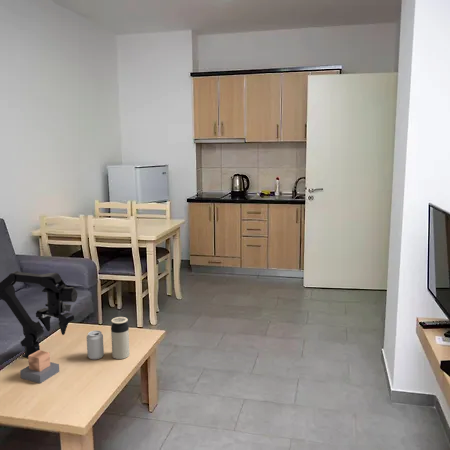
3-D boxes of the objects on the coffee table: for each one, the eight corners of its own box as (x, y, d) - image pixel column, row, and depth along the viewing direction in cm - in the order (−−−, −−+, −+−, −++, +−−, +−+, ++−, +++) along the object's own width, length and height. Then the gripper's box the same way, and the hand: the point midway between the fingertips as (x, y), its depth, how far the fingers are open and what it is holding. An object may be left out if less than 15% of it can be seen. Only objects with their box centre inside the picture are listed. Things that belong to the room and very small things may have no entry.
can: (99, 361, 212) (98, 336, 210) (84, 359, 214) (83, 335, 212) (106, 353, 219) (105, 330, 217) (92, 352, 221) (91, 328, 219)
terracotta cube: (29, 368, 198) (28, 355, 196) (39, 362, 203) (38, 350, 202) (39, 371, 195) (38, 358, 194) (50, 365, 201) (49, 352, 200)
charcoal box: (20, 379, 197) (20, 370, 196) (40, 367, 207) (39, 359, 206) (40, 384, 193) (40, 375, 192) (59, 372, 203) (58, 364, 202)
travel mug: (128, 359, 214) (127, 322, 211) (111, 359, 213) (109, 323, 210) (130, 351, 222) (129, 316, 219) (113, 352, 221) (112, 316, 218)
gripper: (81, 298, 214) (83, 330, 217) (52, 292, 222) (54, 323, 225) (64, 306, 205) (66, 339, 207) (33, 299, 213) (36, 331, 215)
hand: (56, 332), depth 214 cm, fingers open, 9 cm apart
